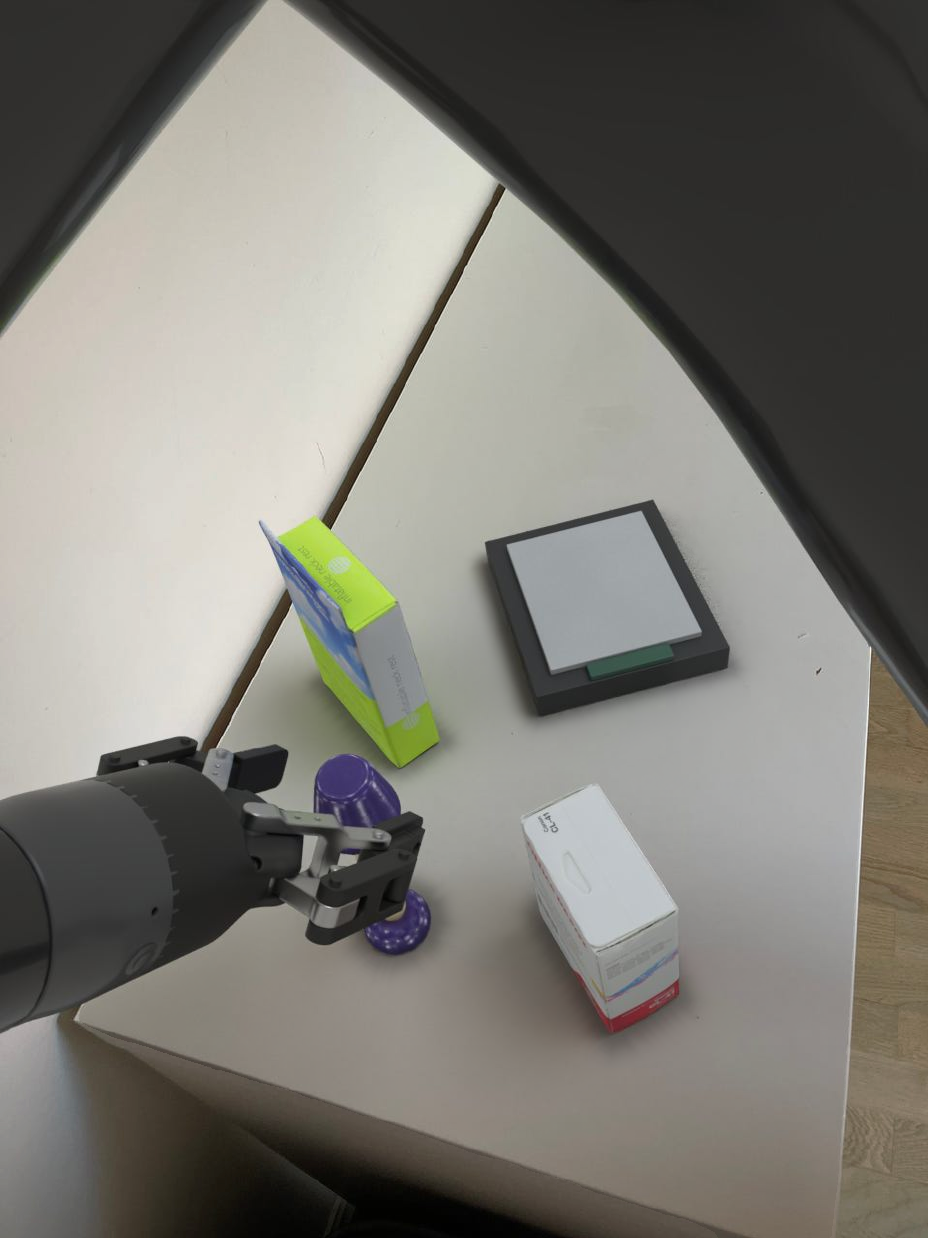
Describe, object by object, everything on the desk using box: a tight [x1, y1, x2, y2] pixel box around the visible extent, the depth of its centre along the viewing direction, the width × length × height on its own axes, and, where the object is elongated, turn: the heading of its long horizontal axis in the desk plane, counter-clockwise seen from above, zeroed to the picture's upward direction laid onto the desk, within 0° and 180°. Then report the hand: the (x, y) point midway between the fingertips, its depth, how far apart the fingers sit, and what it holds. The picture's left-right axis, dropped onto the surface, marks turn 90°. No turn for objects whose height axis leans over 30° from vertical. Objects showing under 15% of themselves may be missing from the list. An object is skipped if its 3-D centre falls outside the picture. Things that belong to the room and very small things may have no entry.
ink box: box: [519, 782, 680, 1034], centre depth 54 cm, size 9×5×12 cm, turn 25°
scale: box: [484, 499, 731, 717], centre depth 75 cm, size 16×14×3 cm
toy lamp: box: [312, 753, 432, 956], centre depth 56 cm, size 5×5×17 cm
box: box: [258, 515, 440, 769], centre depth 66 cm, size 10×4×17 cm, turn 36°
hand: (344, 797), depth 50 cm, fingers open, 8 cm apart
